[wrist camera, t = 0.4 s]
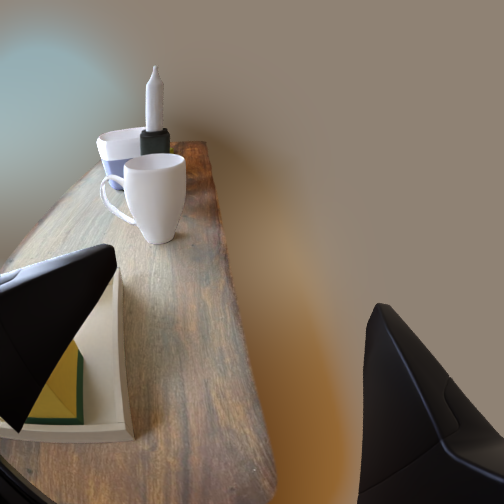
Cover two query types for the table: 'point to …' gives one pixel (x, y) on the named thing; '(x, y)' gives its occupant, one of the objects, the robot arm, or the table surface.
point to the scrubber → (62, 393)
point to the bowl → (119, 151)
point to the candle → (154, 119)
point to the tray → (95, 380)
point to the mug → (152, 194)
